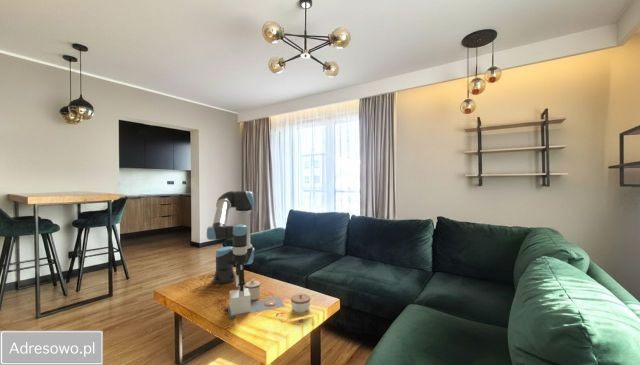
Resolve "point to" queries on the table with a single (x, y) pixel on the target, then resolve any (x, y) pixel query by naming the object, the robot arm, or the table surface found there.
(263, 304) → the board
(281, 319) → the table surface
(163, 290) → the table surface
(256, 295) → the teacup with lid
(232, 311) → the block
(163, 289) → the table surface
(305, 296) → the lidded jar
